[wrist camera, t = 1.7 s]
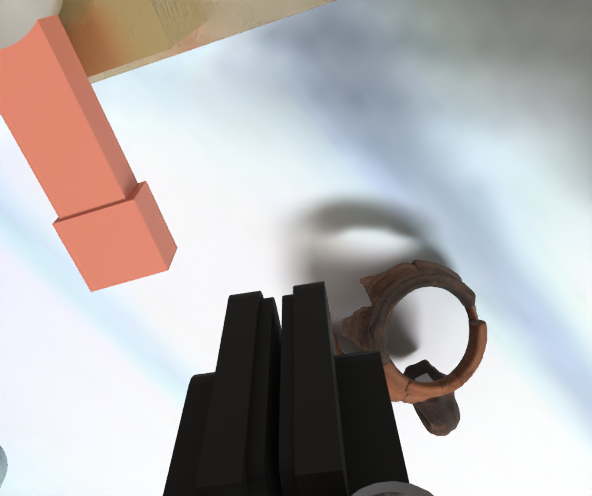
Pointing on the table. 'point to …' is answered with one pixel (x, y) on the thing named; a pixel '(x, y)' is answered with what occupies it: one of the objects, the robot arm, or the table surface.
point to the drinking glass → (2, 465)
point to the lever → (76, 151)
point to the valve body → (160, 28)
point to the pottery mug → (422, 376)
